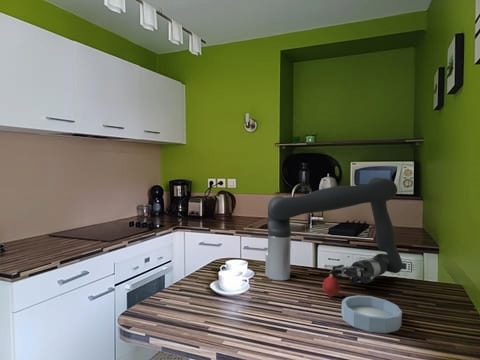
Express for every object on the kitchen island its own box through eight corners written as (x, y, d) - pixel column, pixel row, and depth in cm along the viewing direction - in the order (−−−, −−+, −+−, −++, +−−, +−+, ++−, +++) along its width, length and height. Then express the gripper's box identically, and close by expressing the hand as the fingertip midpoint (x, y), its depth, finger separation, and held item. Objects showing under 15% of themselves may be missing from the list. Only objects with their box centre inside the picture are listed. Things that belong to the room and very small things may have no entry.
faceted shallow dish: (333, 320, 96) (334, 307, 96) (352, 303, 108) (353, 291, 108) (392, 338, 86) (393, 323, 86) (405, 317, 98) (406, 304, 98)
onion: (326, 292, 118) (327, 270, 118) (342, 296, 115) (342, 274, 114) (319, 297, 114) (320, 274, 113) (335, 301, 110) (336, 278, 110)
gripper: (350, 255, 132) (324, 262, 123) (383, 264, 121) (358, 271, 111) (349, 274, 133) (323, 281, 123) (383, 284, 121) (357, 293, 111)
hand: (340, 277), depth 117 cm, fingers open, 8 cm apart
